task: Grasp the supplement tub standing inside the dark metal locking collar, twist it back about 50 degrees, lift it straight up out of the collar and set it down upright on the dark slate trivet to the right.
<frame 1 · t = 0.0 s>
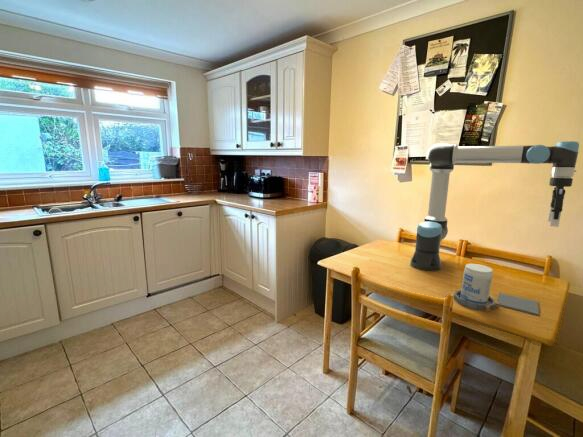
hand: (552, 224, 136), 28 cm above the table, fingers open, 13 cm apart
trivet: (517, 303, 118), on the table
supplement tub: (473, 302, 120), resting in collar
collar: (473, 301, 120), on the table
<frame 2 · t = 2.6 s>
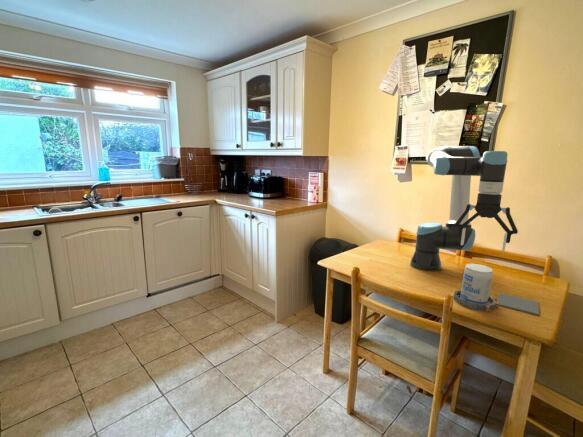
hand: (482, 247, 115), 23 cm above the table, fingers open, 13 cm apart
nothing on the table moved.
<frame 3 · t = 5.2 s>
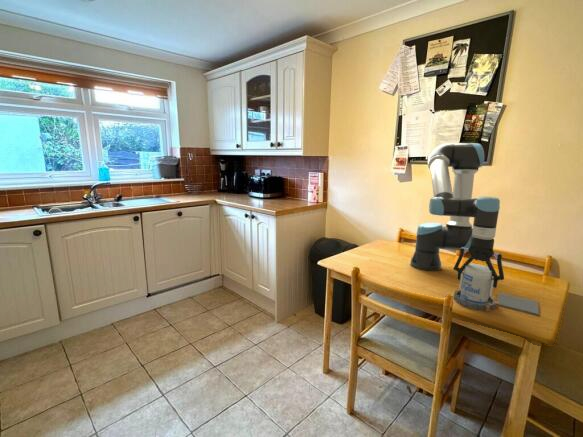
hand: (475, 291, 119), 5 cm above the table, fingers closed on supplement tub, 10 cm apart
supplement tub: (473, 302, 120), resting in collar, touching gripper
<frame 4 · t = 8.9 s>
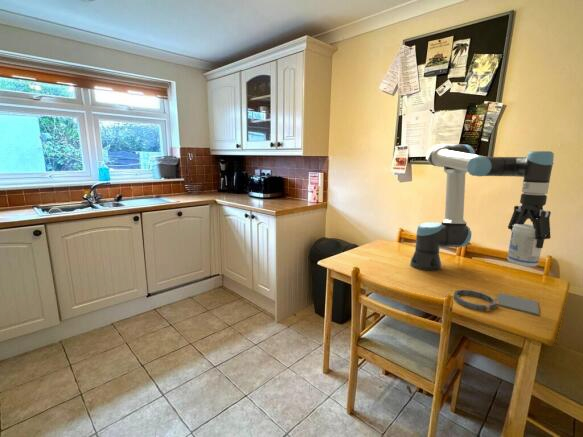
hand: (524, 251, 114), 22 cm above the table, fingers closed on supplement tub, 10 cm apart
supplement tub: (522, 263, 115), point 17 cm above the table, touching gripper
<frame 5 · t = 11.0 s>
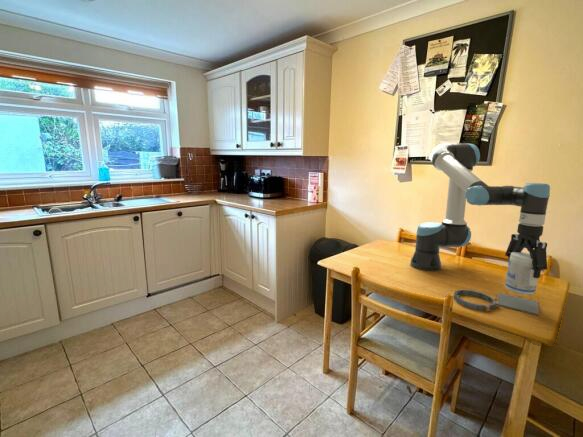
hand: (521, 279, 116), 10 cm above the table, fingers closed on supplement tub, 10 cm apart
supplement tub: (519, 291, 117), point 5 cm above the table, touching gripper
when the fingers open (7 cm above the table, at t = 12.7 s): supplement tub drops 1 cm, resting on trivet.
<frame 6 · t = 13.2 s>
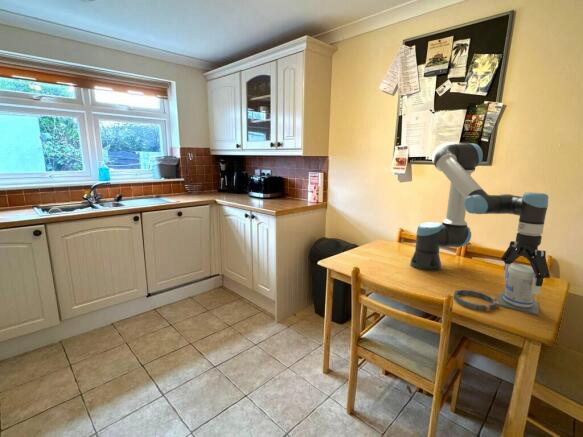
hand: (520, 285, 117), 8 cm above the table, fingers open, 13 cm apart
supplement tub: (517, 303, 118), resting on trivet
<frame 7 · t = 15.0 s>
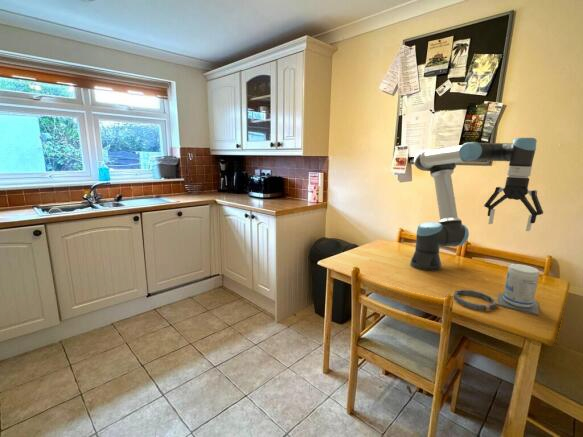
hand: (508, 227, 126), 28 cm above the table, fingers open, 13 cm apart
nothing on the table moved.
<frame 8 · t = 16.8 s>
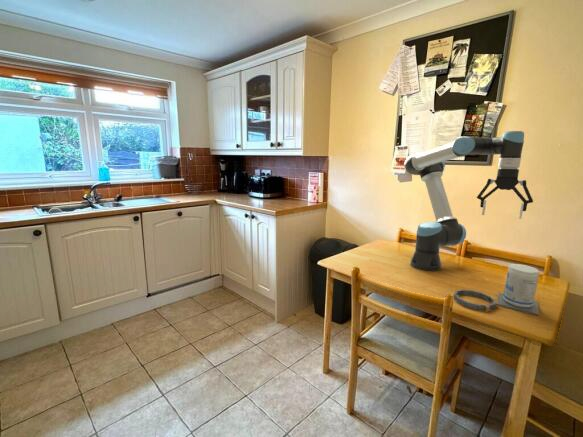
hand: (501, 216, 132), 32 cm above the table, fingers open, 13 cm apart
nothing on the table moved.
at the end: supplement tub inside the target area on the trivet (0.2 cm from its centre), point 0.4 cm above the trivet's base; supplement tub tilted 0°; the gripper is holding nothing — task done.
